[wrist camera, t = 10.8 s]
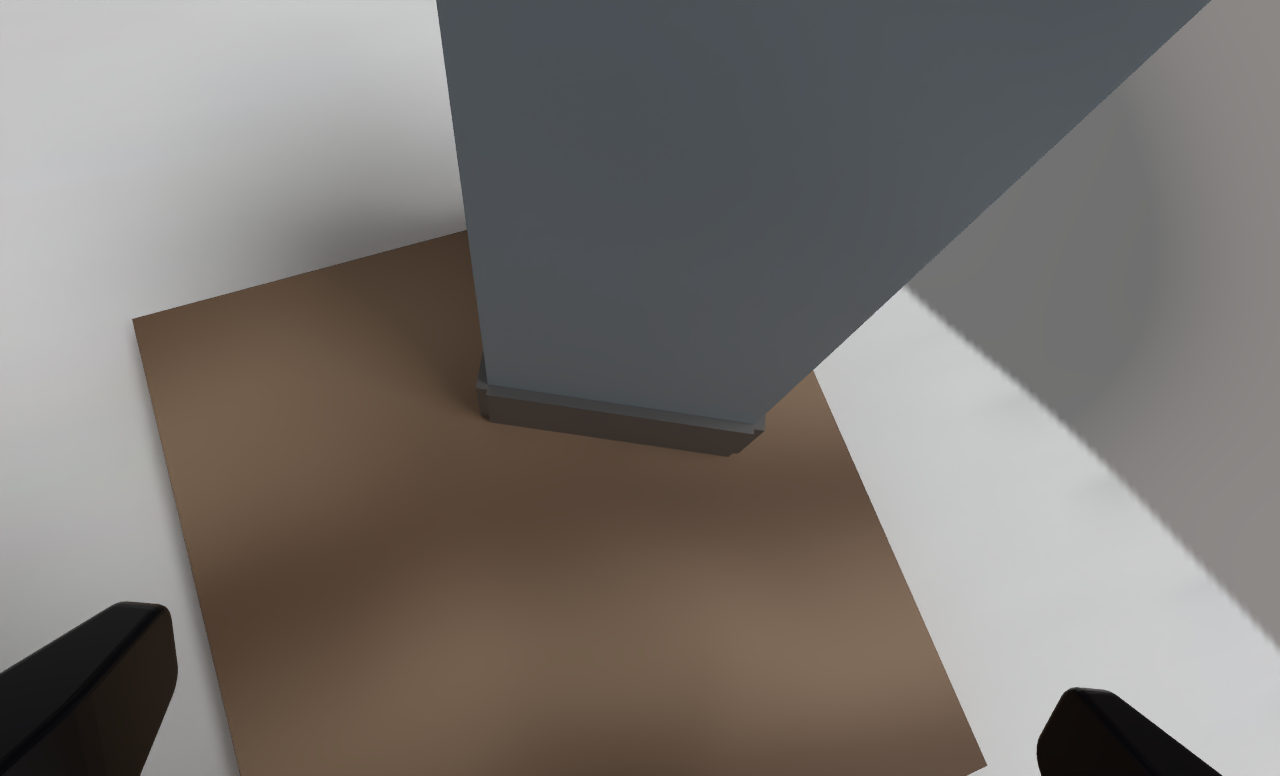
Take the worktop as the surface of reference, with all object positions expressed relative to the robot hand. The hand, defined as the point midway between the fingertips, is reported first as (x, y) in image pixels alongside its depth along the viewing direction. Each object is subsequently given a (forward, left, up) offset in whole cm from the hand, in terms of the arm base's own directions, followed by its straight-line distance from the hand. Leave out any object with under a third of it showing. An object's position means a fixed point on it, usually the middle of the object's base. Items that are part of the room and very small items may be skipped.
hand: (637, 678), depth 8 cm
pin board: (+2, 0, -9) cm, 9 cm away
